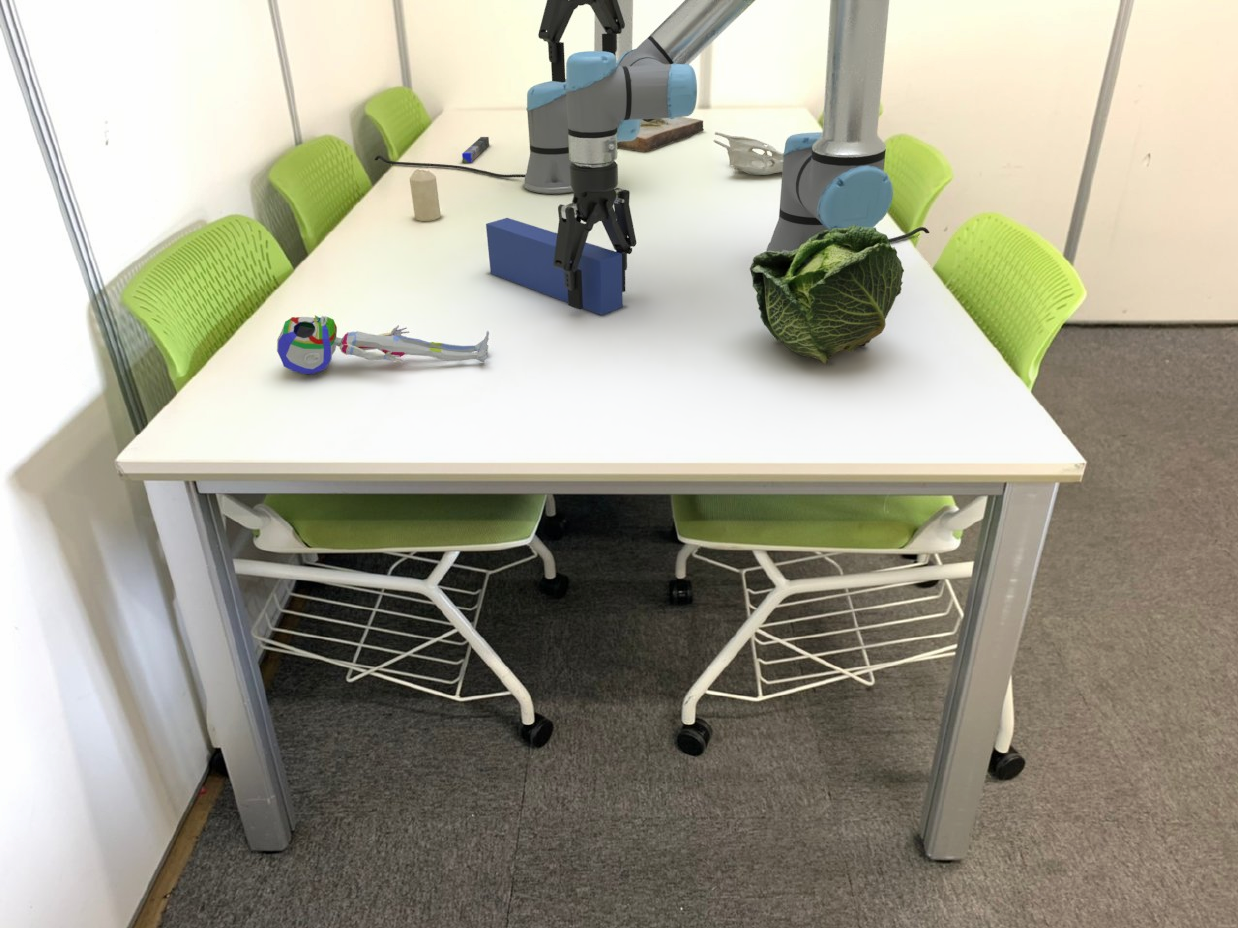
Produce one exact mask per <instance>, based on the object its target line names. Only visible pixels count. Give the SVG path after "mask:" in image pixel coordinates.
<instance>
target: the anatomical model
mask: <svg viewBox="0 0 1238 928" xmlns="http://www.w3.org/2000/svg"><path fill="white" fill-rule="evenodd" d="M714 135H715V136H719V137H723V138H725V139H727V140H728V144H729V145H727V144H724V142H721V141H719V140H716V139H713V142H714V143H715V144H717V145H719V146H721V147H723V148H725V149H726V150H727V156H728V159H729V166H731V167H733V168H734V170H736V171H737V172H744V173H746V174H748V175H750V176H751V175H752V176H767V175H773V174H777V173H782V170H783V153H784V152H780V151H778V150H777V149H776V148H775V147H774V146H772V145H770V144H769V143H765V142H764V141H760V140H758V139H754V138H751V137H745V136H738V135H737V136H734V135H731V134H730V135H729V134H726V133H722V132H718V131H715V132H714ZM754 150H762V151H763V152H764V153H762V154H761V153H758V152H756V151H754ZM768 152H770V154H768Z"/></svg>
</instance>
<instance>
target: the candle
mask: <svg viewBox="0 0 1238 928" xmlns="http://www.w3.org/2000/svg"><path fill="white" fill-rule="evenodd" d="M409 183H410V193H411V199H412V207H413V214H414V218H415V220H417V221H421V222H423V221H424V222H429V221H430V222H431V221H434V220H438V219H440V218H441V207H440V200H439V199H440V198H439V190H438V182H437V176H436V175H435V174H434V173H432V172H431V171H430V170H424V169H415V170H414V172H413V173H412V174H411V175H410V177H409Z"/></svg>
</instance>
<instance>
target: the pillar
mask: <svg viewBox="0 0 1238 928" xmlns="http://www.w3.org/2000/svg"><path fill="white" fill-rule="evenodd" d="M489 138H490V137H489V136H480V137H479V138H478V139H477V140H476V141H474V143H472V144H471V145H470V146H468V147H467V149H466V150H465V151H463V152H462V153H461V157H462V158H461V159H462V163H465V164H466V163H472V162H473V161H474V160H475V159H476V158H478V157H479V156H480V155H481V154H482V153H483V152H484V151H485V150H486V149H487V148H488V147H489V146H490V139H489Z"/></svg>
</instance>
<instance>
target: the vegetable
mask: <svg viewBox="0 0 1238 928" xmlns="http://www.w3.org/2000/svg"><path fill="white" fill-rule="evenodd" d="M855 226H856V225H852V226H850V227H848V228H841V229H838V228H834V229H831V230H825V231H822V232H820V233H818V234H817V235H815V236H813V237H811V238H809V239H808V240H807V241H806V243H804V244H802V245H801V246H800V248H798V249H796V250H793V251H791V252H781V251H776V252H775V251H767V250H766V251H767V252H766V251H764V252H762V253H759V254H757V255H755V256H754V257H753V259H752V263H751V264H750V267H749V271H750V275H751V280H752V287H753V289H754V291H755V292H756V302H757V304H758V310H759V312H760V319H761V321H762V323H763V325H764V326H765V327H766V328H767V329H768V331H769V333H770V334H771V335H772V336H773V338H774V339H775V341H781V342H782V343H783V344H784V345H785V346H786V347H787V348H788V349H789V350H791V351H792V352H794V353H796V354H798V355H800V356H803V357H806V358H810V359H811V358H813V359H816V360H818V361H820V362H821V363H823V364H824V365H825V364H826V363H827V361H832V358H831V356H833V355H835V354H836V353H838V352H839V351H846V352H849V353H853V352H854V350H855V349H857V347H858V348H859V347H860V348H861V347H865V346H866V344H869V343H870V342H871V341H872V339H874V338H876V337H877V336H880V335H881V334H882V333H883V331H884V330H885V327H886V325H887V324H886V319H887V317H888V315H889V313H890V311H891V309H892V307H893V305H894V303H895V300H896V298H897V296H899V295H900V294H901V292H902V285H903V283H904V282H903V281H902V279H903V274H904V272H905V270H904V268H903V265H902V264H903V263H902V260H901V259H900V258H899V256H898V251H897V248H896V247H895V246H894V247H892V245H891V244H890V243H891V242H890V243H889V239H890V238H889V237H888V235H887V234H885V233H883V232H880V231H878V230H877V227H861V226H857V227H855Z"/></svg>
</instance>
